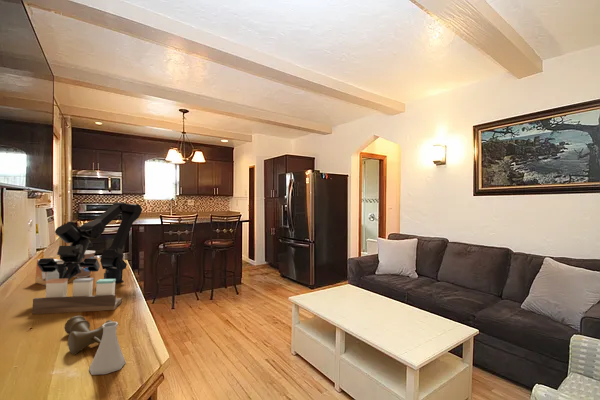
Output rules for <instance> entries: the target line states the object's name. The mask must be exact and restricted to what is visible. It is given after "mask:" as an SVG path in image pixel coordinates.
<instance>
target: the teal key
mask: <svg viewBox="0 0 600 400" xmlns="http://www.w3.org/2000/svg"><path fill="white" fill-rule="evenodd" d="M115 281H116V279H104V278H100V279H97V281H95V284H96V289H95V296H98V295H116V294H115V293H116V283H115Z"/></svg>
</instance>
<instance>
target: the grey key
mask: <svg viewBox="0 0 600 400" xmlns="http://www.w3.org/2000/svg"><path fill="white" fill-rule="evenodd" d="M94 279H95V278H94V277H81V278H75V279H73V280H72V283H73V285H72V296H93V290H94V289H93V287H94Z"/></svg>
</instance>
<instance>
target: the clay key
mask: <svg viewBox="0 0 600 400" xmlns="http://www.w3.org/2000/svg"><path fill="white" fill-rule="evenodd" d="M68 281H69V280H68V278H65V279H50V280H47V281H46V285H45V297H44V298H47V297H68V295H67V294H68Z"/></svg>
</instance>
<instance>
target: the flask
mask: <svg viewBox="0 0 600 400" xmlns="http://www.w3.org/2000/svg"><path fill="white" fill-rule="evenodd" d="M104 323H105V322H104ZM104 323H102V324H101V326H102V328H103V336H102V340H101V343H100V344H99V345H98V348H97V350H96V352H95V355H94V357H93V359H92V362H91V363H90V366H89V372H90V374H91V376H92V375H93V376H94V375H107V374H110V373H113V372H116V371H119V370H121V369H122V367H123V366H124V365H125V364H126V359H125V356H124V354H123V352H122V349H121V346H120V344H119V340H118V336H117V328H118V326H119V323H118V321H112V322H108V323H105V324H104Z"/></svg>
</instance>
